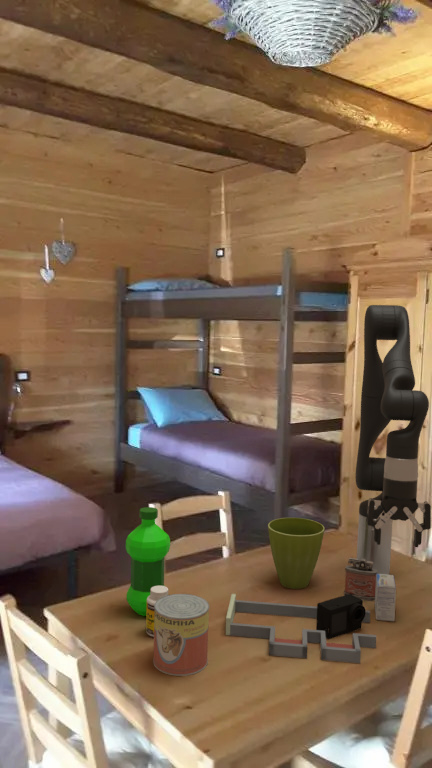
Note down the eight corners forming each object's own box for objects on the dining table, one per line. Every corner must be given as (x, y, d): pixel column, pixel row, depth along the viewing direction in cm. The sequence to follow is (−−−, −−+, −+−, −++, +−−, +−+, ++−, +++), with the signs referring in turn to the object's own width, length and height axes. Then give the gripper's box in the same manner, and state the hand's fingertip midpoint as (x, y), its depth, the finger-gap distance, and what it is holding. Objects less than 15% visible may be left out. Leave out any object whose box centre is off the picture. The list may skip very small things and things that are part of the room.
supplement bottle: (142, 636, 145) (142, 591, 144) (151, 624, 150) (152, 582, 149) (165, 640, 143) (166, 595, 142) (174, 629, 149) (175, 585, 147)
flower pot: (293, 600, 165) (296, 539, 164) (254, 581, 177) (256, 523, 175) (333, 586, 175) (336, 528, 173) (293, 568, 186) (295, 514, 184)
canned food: (143, 667, 132) (144, 610, 131) (169, 642, 142) (170, 589, 141) (193, 681, 128) (194, 622, 126) (216, 654, 138) (218, 600, 137)
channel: (231, 609, 159) (231, 593, 159) (369, 620, 155) (370, 604, 155) (221, 650, 139) (222, 632, 139) (379, 665, 136) (380, 646, 135)
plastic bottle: (140, 598, 164) (142, 501, 161) (176, 608, 159) (178, 508, 156) (116, 613, 155) (117, 511, 153) (153, 624, 150) (155, 519, 148)
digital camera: (332, 642, 145) (333, 612, 144) (315, 632, 149) (317, 602, 148) (365, 631, 150) (367, 602, 150) (348, 621, 155) (350, 593, 154)
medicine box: (394, 622, 155) (396, 587, 154) (375, 620, 156) (377, 585, 155) (392, 608, 163) (394, 574, 162) (374, 606, 164) (375, 572, 163)
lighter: (376, 596, 169) (378, 559, 168) (375, 602, 166) (377, 564, 165) (344, 591, 172) (346, 554, 171) (343, 596, 168) (345, 559, 167)
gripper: (429, 474, 153) (425, 542, 155) (367, 471, 155) (363, 538, 156) (435, 481, 146) (431, 552, 147) (370, 477, 148) (367, 548, 149)
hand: (396, 545), depth 152 cm, fingers open, 8 cm apart
